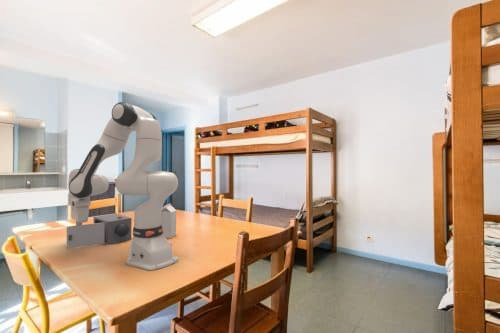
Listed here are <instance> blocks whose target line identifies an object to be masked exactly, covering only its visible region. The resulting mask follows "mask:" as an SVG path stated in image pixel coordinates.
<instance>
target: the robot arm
mask: <svg viewBox="0 0 500 333" xmlns="http://www.w3.org/2000/svg"><path fill="white" fill-rule="evenodd" d="M161 127H162V126H161V123H160V122H159V121H158V118H157V117H156V116H155V115H153V114H152V113H151V112H148V111H146V110H145V109H143V108H141V107H139V106H136V105H135V104H134V105H133V104H131V103H130V102H126V101H119V102H117V103H116V104H115V105H114V106H113V108H112V110H111V118H110V119H109V120H108V122H107V123H106V125H105V127H104V130H103V131H102V134H101V136H100V138H99V140H98V141H97V142H96V144H95V145H94V146H92V147H91V149H90V150H89V152H88V153H87V155H86V157H85V158H84V161H83V162H82V164H81V166H80V168H76V169H72V170H71V171H70V173H69V175H68V179H67V180H68V182H67V185H68V195H67V203H68V204H67V205H68V206H69V207H70V206H71V207H70V209H71V210H70V215H71V218H72V219H74V220H75V224H76V225H75V226H77V225H83V223H87V222H88V220H89V215H90V206H91V197H92V196H97V195H101V194H104V193H106V192H107V191H108V190H109V187H110V182H109V180H108V178H107V177H105V176H104V175H99V174H96V172H97V170H98V168H99V166H100V165H101V163H102V162H103V161H104V160H106V159H108V158H111V157H113V156H116V155H118V154H120V153H122V152H123V151H124V149H125V147H126V145H127V143H128V140H129V137H130V135H131V134H132V132H135V133H136V134H135V136H136V137H135V151H134V157H133V160H132V162H131V164H130V165H129V166H128V167H127V168H126V169H125V170H124V171H122V172H121V173H119V175H118V176H117V178H116V180H115V189H116V190H117V192H118V193H119V194H120V195H125V196H131V197H133V196H135V197H136V196H137V197H138V196H141V197H142V196H148V197H149V199H148V200H147V201H145V202H143V203H141V204H139V205H138V206H136V208H135V210H134V213H133V214H134V215H133V216H134V217H133V218H134V220H133V221H134V223H133V224H134V225H133V227H132V237H133V238H131V241H130V242H129V252H128V259H126V260H125V264H126V265H129V266H132V267H136V268H138V269H139V268H140V269H143V270H146V271H155V270H159V269H162V268H166V267H168V266H171V265H173V264H175V263H177V262H178V261H179V257H178V256H176V255H175V254H174V253H173V244H172V242H169V241H168V238H165V237H164V235H163V230H164V229H163V228H162V225H161V212H162V209H163V207H164V204H165V203H166V200H167V199H168V198H169V197H170V196H171V195H172V194H174V193H175V192H176V191H177V189H178V186H179V180H178V177H177V175H176V174H175V173H174V172H169V171H165V170H164V171H163V170H150V171H149V170H148V167H149V166H151V165H154V164H155V163H158V162H159V161H160V160H161V158H162V154H163V152H162V148H163V143H162V142H163V138H162V129H161Z"/></svg>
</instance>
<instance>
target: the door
mask: <svg viewBox="0 0 500 333" xmlns="http://www.w3.org/2000/svg"><path fill="white" fill-rule="evenodd" d="M93 223H94V222H93ZM93 223H87V224H82V225H77V226H76V225H71V226H70V225H69V226H66V250H69V249H74V248H83V247H88V246H94V245H101V244H105V243H106V222H103V223H94V224H93Z"/></svg>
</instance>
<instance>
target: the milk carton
mask: <svg viewBox="0 0 500 333" xmlns="http://www.w3.org/2000/svg"><path fill="white" fill-rule="evenodd" d="M161 225H162V228H163V229H164V230H163V235H164V237H165V238H166V239H172V238H174V237H175V236H176V235H177V209H175V207H173V206H172V203H168V204H165V205H163V207H162V212H161Z"/></svg>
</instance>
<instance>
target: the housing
mask: <svg viewBox="0 0 500 333" xmlns="http://www.w3.org/2000/svg"><path fill="white" fill-rule="evenodd" d="M132 220H133V219H132V217H129V216H125V215H122V214H120V213H119V214H118V213H112V214H111V213H110V214H102V215H97V216H95V215H94V216H93V223H92V224H94V223H103V222H106V243H104V244H105V245H108V246H109V245H113V244H118V243H121V242H125V241H130V240H131V241H132Z"/></svg>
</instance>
